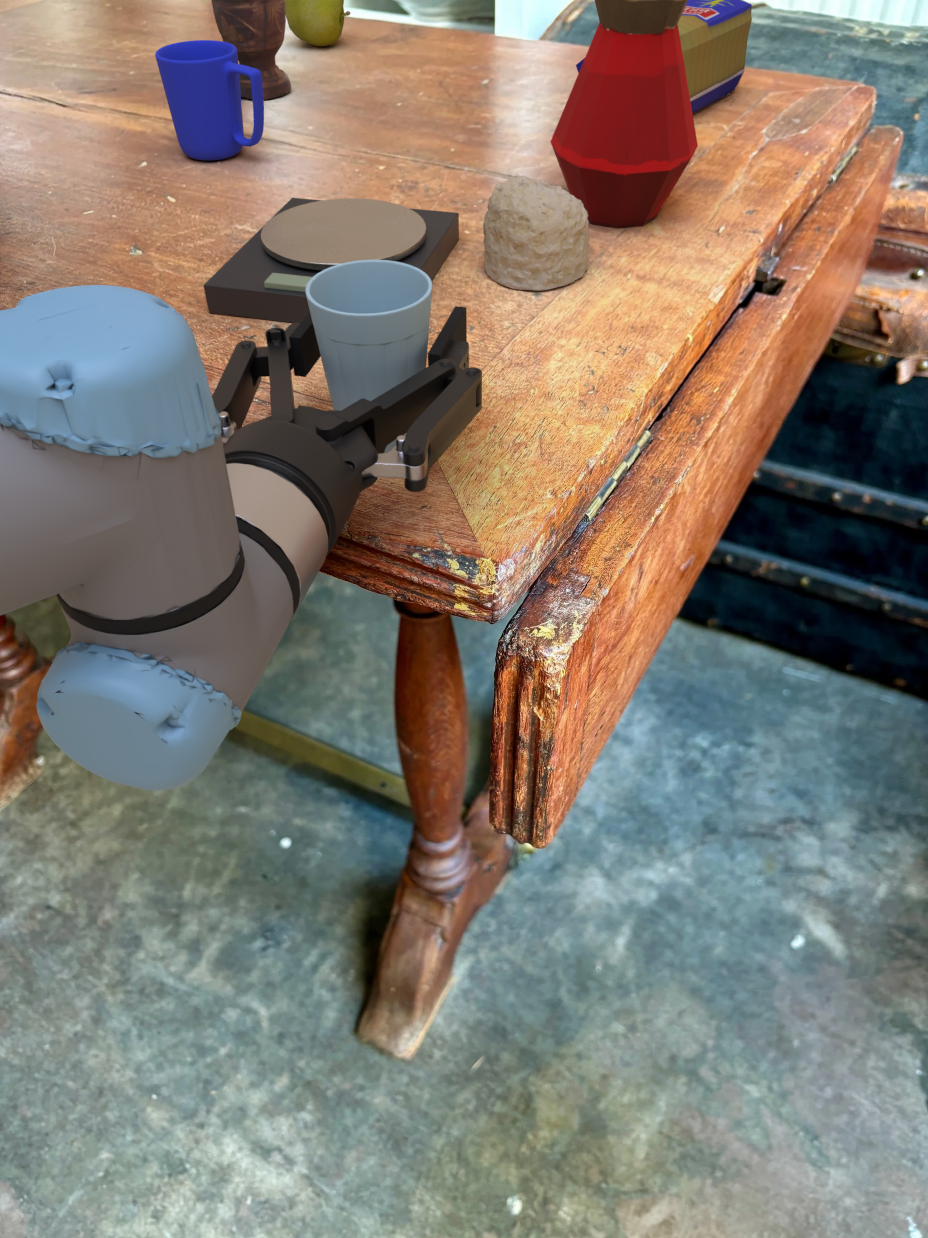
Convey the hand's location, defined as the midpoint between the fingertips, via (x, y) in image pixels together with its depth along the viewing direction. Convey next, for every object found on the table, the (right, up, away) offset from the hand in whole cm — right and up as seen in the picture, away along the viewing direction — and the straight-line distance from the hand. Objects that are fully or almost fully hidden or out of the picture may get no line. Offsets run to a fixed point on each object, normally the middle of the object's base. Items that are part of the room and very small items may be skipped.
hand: (395, 318), depth 67 cm
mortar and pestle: (-21, +44, +57) cm, 75 cm away
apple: (-16, +61, +74) cm, 97 cm away
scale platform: (-6, +13, +18) cm, 23 cm away
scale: (-6, +10, +19) cm, 22 cm away
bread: (+28, +40, +52) cm, 71 cm away
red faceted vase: (+19, +19, +29) cm, 40 cm away
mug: (-21, +30, +41) cm, 55 cm away
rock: (+11, +10, +20) cm, 25 cm away
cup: (-1, -8, +1) cm, 8 cm away
